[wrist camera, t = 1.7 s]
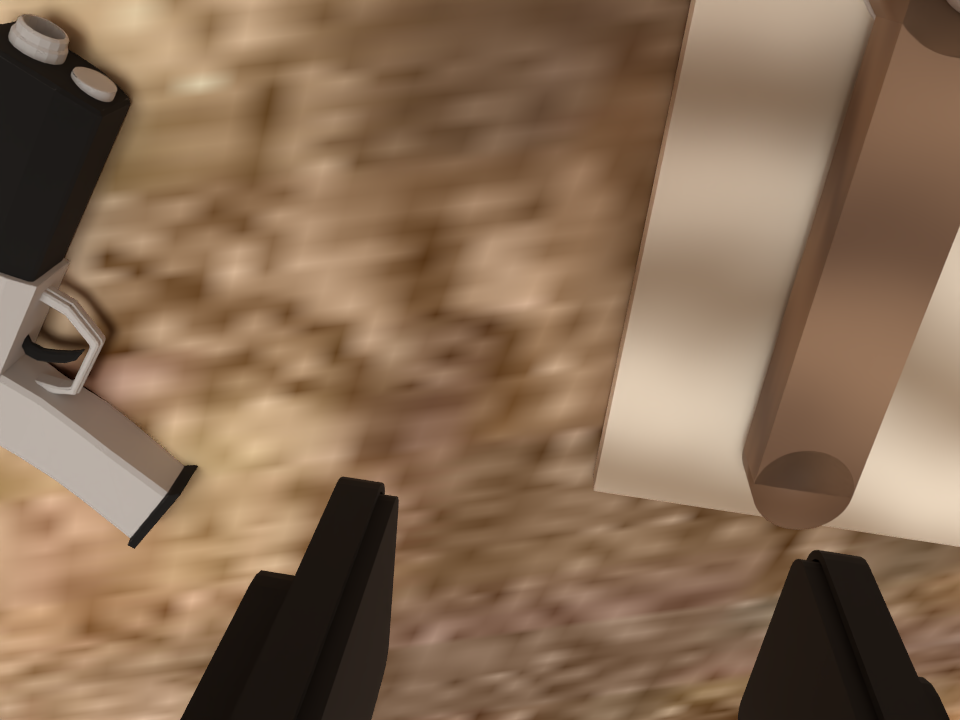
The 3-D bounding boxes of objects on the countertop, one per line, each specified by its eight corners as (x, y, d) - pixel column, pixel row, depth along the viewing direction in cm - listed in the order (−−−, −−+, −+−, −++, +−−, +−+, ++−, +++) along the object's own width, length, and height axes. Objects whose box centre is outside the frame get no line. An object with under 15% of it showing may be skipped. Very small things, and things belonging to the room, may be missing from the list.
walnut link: (903, -177, 19) (935, -189, 17) (1098, -157, 19) (1150, -166, 17) (711, 481, 28) (720, 518, 26) (842, 501, 28) (859, 539, 26)
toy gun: (338, 239, 25) (-50, -4, 22) (139, 561, 32) (-172, 406, 29) (359, 204, 28) (18, -15, 25) (171, 507, 35) (-109, 362, 32)
